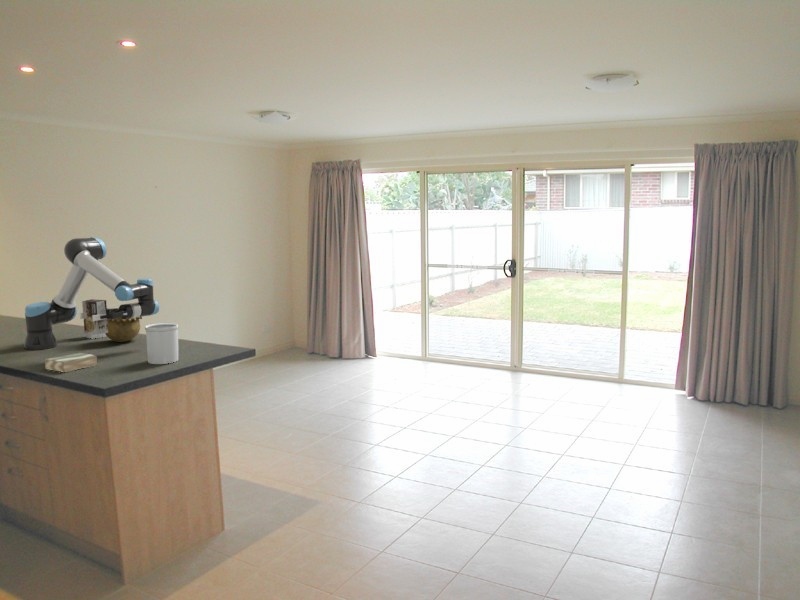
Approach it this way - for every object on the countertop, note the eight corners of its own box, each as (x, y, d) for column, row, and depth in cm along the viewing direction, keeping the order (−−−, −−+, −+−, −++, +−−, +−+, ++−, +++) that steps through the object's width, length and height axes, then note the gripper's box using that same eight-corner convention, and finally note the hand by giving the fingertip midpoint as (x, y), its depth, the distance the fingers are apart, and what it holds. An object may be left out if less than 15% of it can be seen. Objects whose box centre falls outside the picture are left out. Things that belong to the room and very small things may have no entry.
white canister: (107, 337, 350) (106, 311, 348) (91, 339, 343) (89, 313, 341) (101, 334, 356) (99, 309, 354) (85, 337, 349) (83, 311, 347)
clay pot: (99, 340, 341) (96, 305, 338) (139, 336, 353) (137, 302, 350) (104, 347, 324) (102, 310, 321) (147, 342, 335) (144, 306, 332)
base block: (45, 369, 278) (44, 358, 277) (78, 362, 292) (77, 351, 291) (64, 373, 271) (63, 362, 270) (97, 365, 285) (96, 355, 284)
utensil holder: (154, 357, 301) (153, 322, 299) (184, 357, 301) (182, 322, 298) (141, 364, 287) (139, 328, 284) (172, 365, 286) (170, 328, 284)
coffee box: (108, 332, 298) (106, 299, 296) (98, 335, 292) (96, 301, 290) (94, 331, 301) (92, 298, 299) (83, 333, 295) (81, 300, 293)
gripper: (143, 320, 305) (100, 327, 286) (116, 316, 317) (74, 322, 299) (142, 305, 304) (99, 311, 285) (116, 301, 316) (73, 307, 297)
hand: (86, 317), depth 292 cm, fingers closed on coffee box, 10 cm apart
